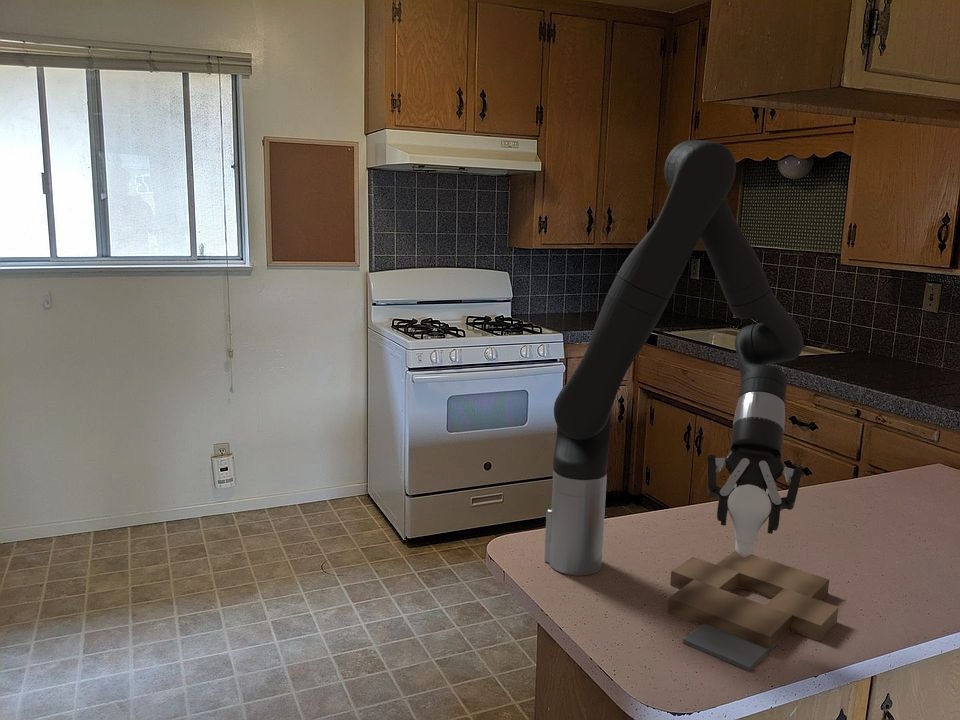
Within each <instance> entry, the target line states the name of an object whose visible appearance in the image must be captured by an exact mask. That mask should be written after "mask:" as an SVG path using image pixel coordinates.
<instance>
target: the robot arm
mask: <svg viewBox="0 0 960 720" xmlns="http://www.w3.org/2000/svg"><path fill="white" fill-rule="evenodd" d="M736 165H737V164H736V160H735V157H734V154H733V153H732V152H731V150H730V149H729V148H728V147H727V146H726V145H724V144H721V143H718V142H716V141H711V140H702V139H689V140H685V141H683V142H680V143H679V144H677V145H676V146H675V147H673V148H672V149H671V150H670V152H669V153H668V155H667V157H666V159H665V162H664V170H663V171H664V172H663V174H664V179H665V182H666V183H667V186H668V188H669V192H668V195H667V197H666V199H665V201H664V204H663V206H662V208H661V210H660V213H659V214H658V216H657V219H656V220H655V222H654V224H653V225H652V226H651V227H650V229H649V231H648V232H646V234H645V235H644V237H643V238H642V239H641V240H640V241H639V243H638V244H636V246H635V247H634V248H633V249H632V250H631V252H630V253H629V255H628V256H627V257H626V258H625V260H624V262H623V263H622V265H621V267H620V268H619V270H618V271H617V275H616V276H615V278H614V279H613V282H612V283H611V286H610V288H609V290H608V292H607V294H606V296H605V299H604V301H603V304H602V306H601V308H600V311H599V314H598V316H597V319H596V322H595V324H594V327H593V330H592V334H591V337H590V339H589V342H588V344H587V345H588V346H587V348H586V350H585V351H584V354H583V357H582V358H581V360H580V362H579V363H578V365H577V367H576V369H575V370H574V372H573V373H572V375H571V377H570V379H569V381H568V382H566V384H564V386H563V387H562V388H561V390H560V391H559V393H558V395H557V397H556V398H555V401H554V403H553V404H554V405H553V416H554V421H555V423H556V426H557V427H556V440H555V445H554V451H553V462H552V464H553V465H552V487H551V490H552V491H551V507H550V508H549V509H547V510H546V513H545V533H544V534H545V535H544V537H545V538H544V558H543V559H544V561H545V562H547V563H548V564H549V565H550V567H551V568H553V570H555V571H557V572H560V573H562V574H565V575H570V576H587V575H592V574H595V573H597V572H599V571H600V570H601V568H602V562H603V560H602V559H603V545H604V533H605V532H604V530H605V515H606V514H605V509H606V496H607V495H606V494H607V493H606V492H607V479H608V478H607V477H608V476H607V475H608V461H609V456H610V455H609V453H610V445H611V443H610V442H611V427H612V426H611V425H612V414H613V411H612V408H613V404H614V402H615V401H616V400H615V399H616V397H617V394H618V392H619V390H620V387H621V385H622V383H623V380H624V378H625V376H626V374H627V373H628V370H629V369H630V367H631V365H632V363H633V362H634V361H635V359H636V358H637V356H638V355H639V354H640V351H641V350H642V348H643V347H644V345H645V344H646V342H647V341H648V340H649V337H650V336H651V334H652V333H653V331H654V329H655V327H656V326H657V325H658V322H659V321H660V320H661V319H660V318H661V317H662V316H663V313H664V311H665V309H666V307H667V305H668V303H669V301H670V299H671V298H672V295H673V293H674V291H675V288H676V286H677V285H678V282H679V281H680V278H681V276H682V274H683V272H684V271H685V268H686V266H687V264H688V262H689V260H690V258H691V256H692V254H693V251H694V249H695V247H696V245H697V243H698V241H699V240H701V243H702V245H703V247H704V250H705V251H706V255H707V256H708V259H709V260H710V264H711V267H712V268H713V271H714V273H715V275H716V278H717V280H718V283H719V286H720V288H721V291H722V293H723V295H724V297H725V299H726V302H727V304H728V307H729V310H730V312H731V313H732V315H733V316H734V317H735V318H737V319H740V320H741V319H742V320H744V319H745V320H754V321H755V320H756V321H758V322H760V323H755V324H750V325H746V326H743V327H742V328H741V329H740V330H739V331H738V333H736V336H735V338H734V347H735V348H734V349H735V352H736V353H735V354H736V357H737V362H738V366H739V376H740V385H739V390H738V391H739V393H738V399H737V404H736V408H735V412H734V417H733V421H732V432H731V437H730V438H731V439H730V447H729V452H728V454H727V455H726V456H725V457H716V456H715V455H714V454H708V455H707V457H706V464H707V468H706V469H707V471H706V473H707V475H706V476H707V495H708V496H709V497H710V498H714V499H717V501H718V504H717V511H716V519H717V521H719V522H720V525H721V526H726V525H727V519H728V513H729V511H728V498H729V495H730V494H731V492H732V491H733V490H734V489H736V488H737V487H739V486H742V485H754V486H757V487H759V488H761V489H762V490H763V491H765V492H766V494H767V495H768V497H769V499H770V501H771V511H770V515H769V517H768V524H767V534H769V535H770V534H771V535H773V532H775V531H776V532H777V530H778V529H779V525H780V516H781V511H782V510H789V511H790V510H793V509H794V507H795V502H796V500H797V496H798V492H799V488H800V484H801V480H802V477H803V473H804V471H803V469H802V467H800V466H797V467H795V468H791V467H787V466H785V465H784V463H783V460H782V456H783V455H782V454H783V444H784V436H785V435H784V434H785V424H786V410H785V408H786V398H787V397H786V396H787V388H788V383H787V382H788V380H787V376H786V374H785V373H784V371H782V370H781V369H780V368H778V367H776V366H773V365H772V364H778V363H784V362H785V363H786V362H791V361H793V360H796V359H797V358H799V356H800V355H801V353H802V351H803V347H804V338H803V333H802V331H801V329H800V328H799V326H798V324H797V323H796V322H795V320H794V319H793V317H792V316H791V315H790V314H789V313H788V312H787V310H786V309H785V308H784V306H783V305H782V304H781V302H780V301H779V300H778V299H777V297H776V296H775V294H774V293H773V290H772V288H771V286H770V283H769V280H768V278H767V275H766V273H765V270H764V267H763V265H762V263H761V261H760V259H759V257H758V255H757V254H756V252H755V250H754V249H753V247H752V245H751V244H750V241H748V239H747V238H746V235H745V234H744V232H743V231H742V228H740V226H739V224H738V222H737V221H736V219H735V216H734V215H733V213H732V210H731V208H730V205H729V203H728V200H727V195H728V194H729V192H730V190H731V188H732V186H733V184H734V180H735V178H736V173H737V166H736ZM723 467H725V468H726V470H727V471H728V473H729V474H730V475H729V477H728V478H727V480H726V482H725V484H724V485H723V486H722V487H719V486H718V485H717V473H720V472H721V470H722V468H723ZM781 476H784V477H785V481H786V483H788V484H789V487H788V491H787V494H786V496H784V497H781V496H780V494H779V492H778V488H777V484H776V481H777V480H778V479H779V478H780V477H781Z"/></svg>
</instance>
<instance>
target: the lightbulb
mask: <svg viewBox="0 0 960 720" xmlns="http://www.w3.org/2000/svg"><path fill="white" fill-rule="evenodd" d="M770 511H771V501H770V499H769V497H768V495H767V494H766V492H765V491H764V490H763V489H761V488H759V487H757V486H754V485H742V486H739V487H737V488H736V489H734V490H733V491H732V492H731V494H730V495H729V498H728V513H729V516H730V518H731V521H732V524H733V527H734V529H733V530H734V539H735V550H736V552H737V553H739V554H740V555H741V556H743V557H746V556H748V555H751V554H752V555H753V553H754V550H755V543H756V542H757V539H758V535H759V532H760V530H761V528H762V526H763V525H764V524H765V523H766V521H767V520H769V515H770ZM735 550H734V551H735Z"/></svg>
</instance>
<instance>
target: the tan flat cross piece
mask: <svg viewBox="0 0 960 720" xmlns="http://www.w3.org/2000/svg"><path fill="white" fill-rule="evenodd" d="M669 585H670V586H673V587H675V588H677V589H678V590H677V591H676V592H674V593H673V594H672V595H670V596H668V602H667V613H669V614H671V615H674V616H676V617H679V618H682V619H684V620H686V621H689V622H690V623H694V624H696V625H699V626H700V625H701V624H703V623H705V624H708V625H710V626H712V627H715V628H717V629H720V630H722V631H725V632H727V633H730V634H732V635H735V636H737V637H740V638H742V639H745V640H747V641H750V642H752V643H755V644H757V645H760V646H762V647H765V648H767V649H769V648H770V647H771V646H772V645H773V644H774V643H775V642H776V645H777V644H778V643H780V642H781V640H782V639H784V638H785V637H786V635H788V634H789V633H790V632H791V631H792V632H794V633H797V634H799V635H802V636H805V637H807V638H810V639H813V640H814V641H817V642H820V641H821V640H822V639H823V638H824V637H825V635H827V633H829V631H830V630H832V628H833V626H835V624H836V623H837V622H838V617H839V615H838V614H839V606H836V605H834V604H831V603H829V602H824V601H822V600H823V599H824V598H825V597H826V596H827V595H828V593H829V585H830V579H828V578H826V577H823V576H819V575H817V574H814V573H810V572H808V571H804V570H802V569H798V568H795V567H792V566H789V565H785V564H782V563H779V562H776V561H774V560H770V559H768V558H764V557H761V556H758V555H755V554H753V553H752V554H751V555H748V556H746V557H743V556H741V555H740V554H739V553H737V552H736V550H734V551H733V552H731V553H730V554H728V555H727V556H726V557H724V558H723V559H721V560H720V561H718V562H717V563H716V564H715V563H711V562H710V561H709V562H708V561H706V560H703V559H701V558H698V557H694V556H691V557H690V558H689V559H687V560H686V561H683V562H682V563H681V564H679V565H678V566H676V567H675V568H673V569H672V570H671V571H670V582H669ZM737 588H740V589H744V590H747V591H749V592H753V593H754V594H758V595H760V596H763V597H766V598H768V599H770V600H769V601H768V602H767V603H766V604H762V603H760V602H757V601H755V600H752V599H750V598H747V597H743V596H741V595H738V594H736V593H733V592H732V591H734V590H735V589H737ZM769 652H770V651H768V653H769Z"/></svg>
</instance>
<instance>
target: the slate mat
mask: <svg viewBox="0 0 960 720" xmlns="http://www.w3.org/2000/svg"><path fill="white" fill-rule="evenodd" d="M682 644H685V645H687V646H689V647H692V648H694V649H696V650H698V651H701V652H703V653H706V654H708V655H711V656H713V657H715V658H718V659H720V660H722V661H725V662H727V663H730V664H731V665H733V666H736V667H739V668H741V669H743V670H745V671H748V672H751V670H752V669H753V668H754V667H756V665H758V663H759V662H760V661H762V660H763V658H764V657H766V655H768V653H769V652H771V651H772V650H773V649H774V648H775V647H776V645H777V644H776V642H775V643H774V644H773V645H772V646H771V647H770V648H769V649H767V648H765V647H762V646H760V645H757V644H755V643H752V642H750V641H747V640H745V639H742V638H740V637H737V636H735V635H732V634H730V633H727V632H725V631H722V630H720V629H717V628H715V627H712V626H710V625H708V624H705V623H703V624H701V625H699V626H698V627H696V628H694V630H693V631H692V632H690V633H689V634H687V636H685V637H684V638H683V639H682ZM768 651H769V652H768Z"/></svg>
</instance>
